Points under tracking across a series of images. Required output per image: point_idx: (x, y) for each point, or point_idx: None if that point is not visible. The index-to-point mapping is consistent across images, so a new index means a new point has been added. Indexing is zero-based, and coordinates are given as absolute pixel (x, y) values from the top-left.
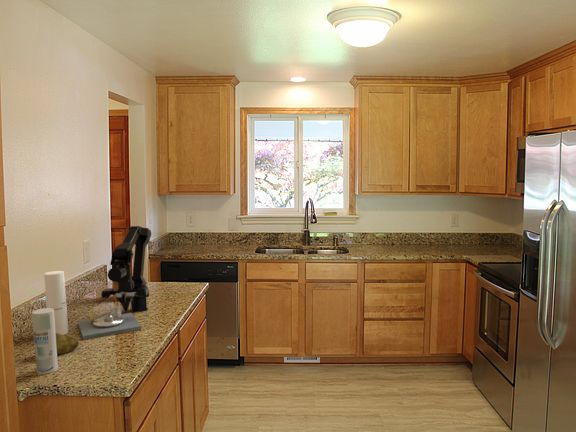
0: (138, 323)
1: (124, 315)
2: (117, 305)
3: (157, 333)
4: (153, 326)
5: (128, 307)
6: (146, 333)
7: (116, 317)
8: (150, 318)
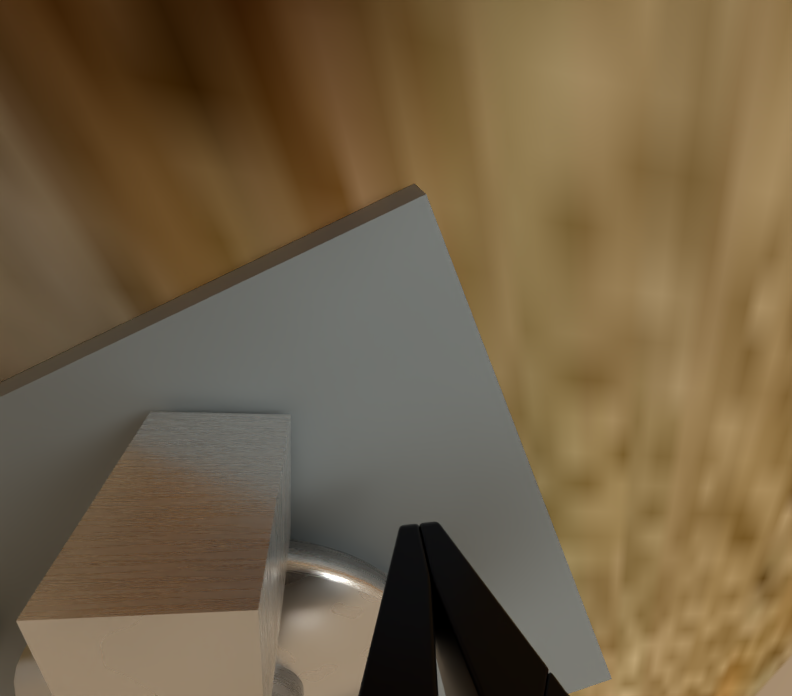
0: (588, 636)
1: (335, 375)
2: (152, 625)
3: (703, 682)
4: (702, 583)
5: (479, 578)
6: (630, 686)
7: (300, 622)
8: (718, 359)
